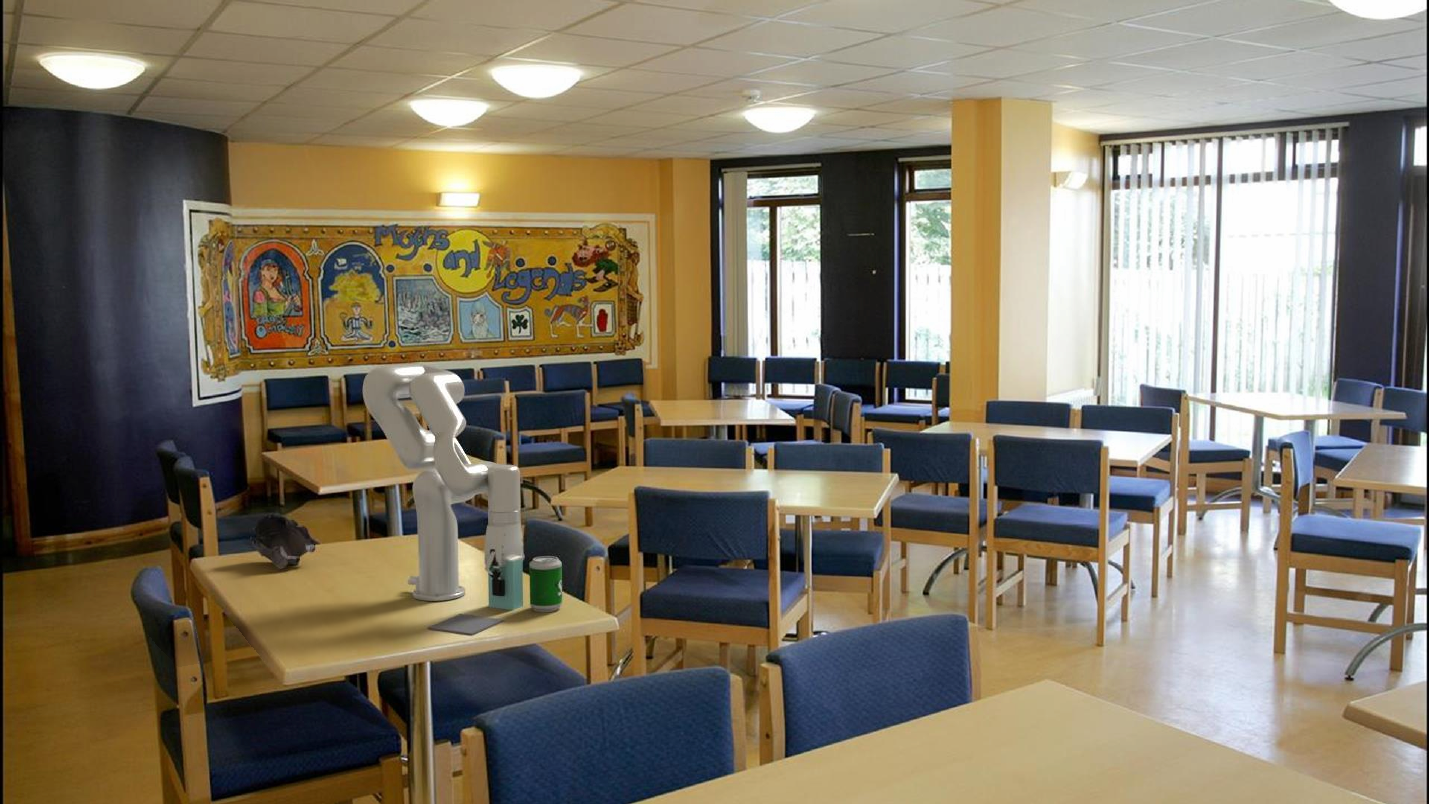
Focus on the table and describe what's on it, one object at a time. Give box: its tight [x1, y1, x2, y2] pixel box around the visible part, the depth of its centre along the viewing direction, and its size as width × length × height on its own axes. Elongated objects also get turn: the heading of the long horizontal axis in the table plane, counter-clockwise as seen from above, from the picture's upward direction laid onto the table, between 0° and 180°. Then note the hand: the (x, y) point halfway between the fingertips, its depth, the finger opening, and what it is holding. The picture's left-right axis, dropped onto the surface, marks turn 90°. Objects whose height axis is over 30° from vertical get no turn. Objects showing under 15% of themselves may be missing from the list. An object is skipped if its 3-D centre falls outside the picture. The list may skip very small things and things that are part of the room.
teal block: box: [487, 556, 524, 611], centre depth 270 cm, size 7×4×12 cm, turn 66°
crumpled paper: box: [250, 513, 316, 570], centre depth 314 cm, size 14×15×20 cm
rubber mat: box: [427, 613, 505, 636], centre depth 255 cm, size 12×12×1 cm
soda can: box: [528, 555, 563, 613], centre depth 268 cm, size 8×8×12 cm
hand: (505, 592), depth 271 cm, fingers open, 5 cm apart
